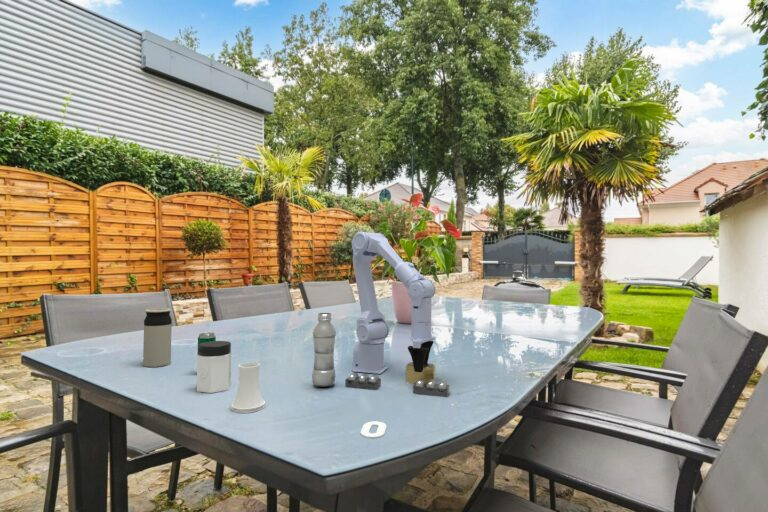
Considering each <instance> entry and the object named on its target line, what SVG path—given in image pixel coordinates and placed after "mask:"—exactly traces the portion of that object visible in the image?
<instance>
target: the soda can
mask: <svg viewBox="0 0 768 512" xmlns="http://www.w3.org/2000/svg"><path fill="white" fill-rule="evenodd" d="M216 339H217V338H216V335H215V332H201V333H199V334H198V337H197V349H198V348H199V344H200V343H204V342H210V341H217V340H216ZM196 355H197V356H198V355H199V354H198V351H197V354H196ZM197 356H196V357H197Z"/></svg>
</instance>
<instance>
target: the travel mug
mask: <svg viewBox="0 0 768 512" xmlns="http://www.w3.org/2000/svg"><path fill="white" fill-rule="evenodd" d="M171 311H172V309H171V308H163V307H162V308H161V307H160V308H147V309H145V311H144V312H145V314H146V316H145V318H144V319H143V350H142V351H143V352H142V353H143V355H142V357H143V358H142V365H143V366H144V367H146V368H160V367H165V366H168V365H170V364H171V363H172V362H171V361H172V358H171V357H172V324H173V323H172V320H173V319H172V317H171V315H170V314H171V313H170V312H171Z"/></svg>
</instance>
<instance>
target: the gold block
mask: <svg viewBox="0 0 768 512" xmlns="http://www.w3.org/2000/svg"><path fill="white" fill-rule="evenodd" d="M419 379H424V380H425V383H428V382H429V381H430V380H432V379H433V380H435V381H436V364H435V363H427V364H424V367H423V371H422V372H415V371H414V366H413V361H410V362H408V363H407V364H406V365H405V383H407V382H413V383H412V384H415V383H416V382H417V381H418V380H419Z"/></svg>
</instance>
